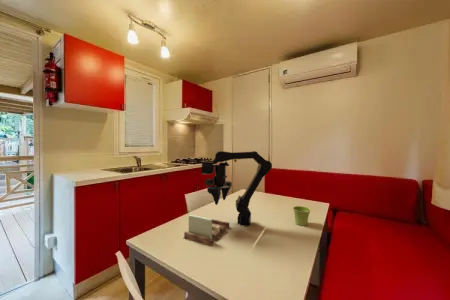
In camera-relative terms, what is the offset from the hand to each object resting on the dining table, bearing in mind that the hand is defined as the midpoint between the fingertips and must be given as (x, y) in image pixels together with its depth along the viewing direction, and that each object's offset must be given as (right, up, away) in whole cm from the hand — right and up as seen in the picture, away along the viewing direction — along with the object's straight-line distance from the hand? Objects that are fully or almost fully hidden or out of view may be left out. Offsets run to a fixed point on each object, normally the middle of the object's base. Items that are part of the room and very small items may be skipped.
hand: (220, 202), depth 103 cm
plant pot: (+46, -14, +4) cm, 48 cm away
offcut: (-3, -12, -11) cm, 17 cm away
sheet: (-9, -13, -16) cm, 22 cm away
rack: (-6, -13, -10) cm, 17 cm away
